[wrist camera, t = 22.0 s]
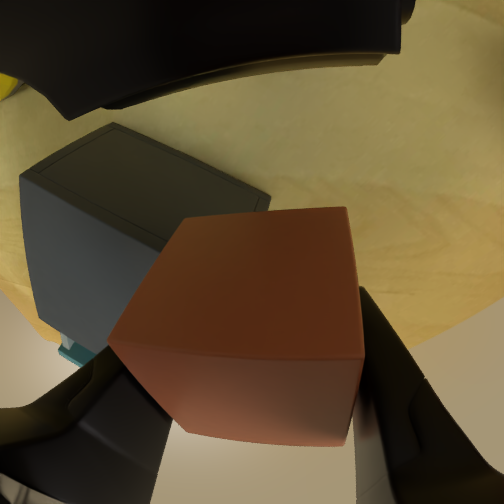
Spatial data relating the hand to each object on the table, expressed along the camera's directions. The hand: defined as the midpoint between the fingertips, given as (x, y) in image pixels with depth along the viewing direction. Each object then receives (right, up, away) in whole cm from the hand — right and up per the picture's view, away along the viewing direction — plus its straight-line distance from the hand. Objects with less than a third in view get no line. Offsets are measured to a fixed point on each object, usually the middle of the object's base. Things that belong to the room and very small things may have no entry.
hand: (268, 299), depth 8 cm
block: (0, +1, +1) cm, 1 cm away
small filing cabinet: (-8, +3, +15) cm, 17 cm away
